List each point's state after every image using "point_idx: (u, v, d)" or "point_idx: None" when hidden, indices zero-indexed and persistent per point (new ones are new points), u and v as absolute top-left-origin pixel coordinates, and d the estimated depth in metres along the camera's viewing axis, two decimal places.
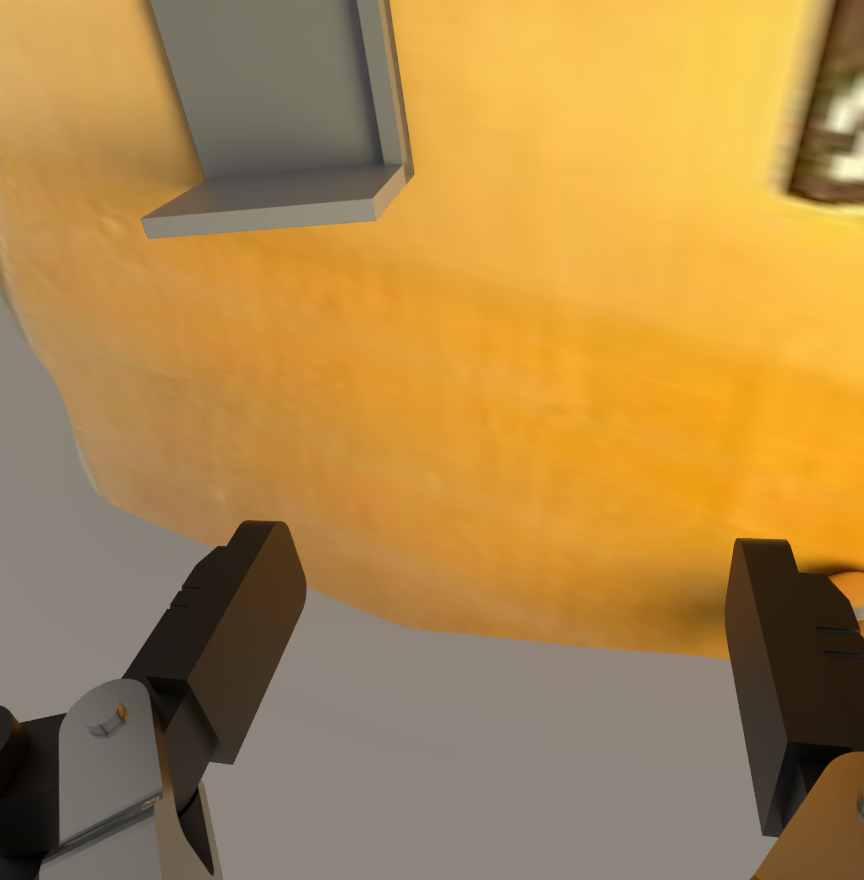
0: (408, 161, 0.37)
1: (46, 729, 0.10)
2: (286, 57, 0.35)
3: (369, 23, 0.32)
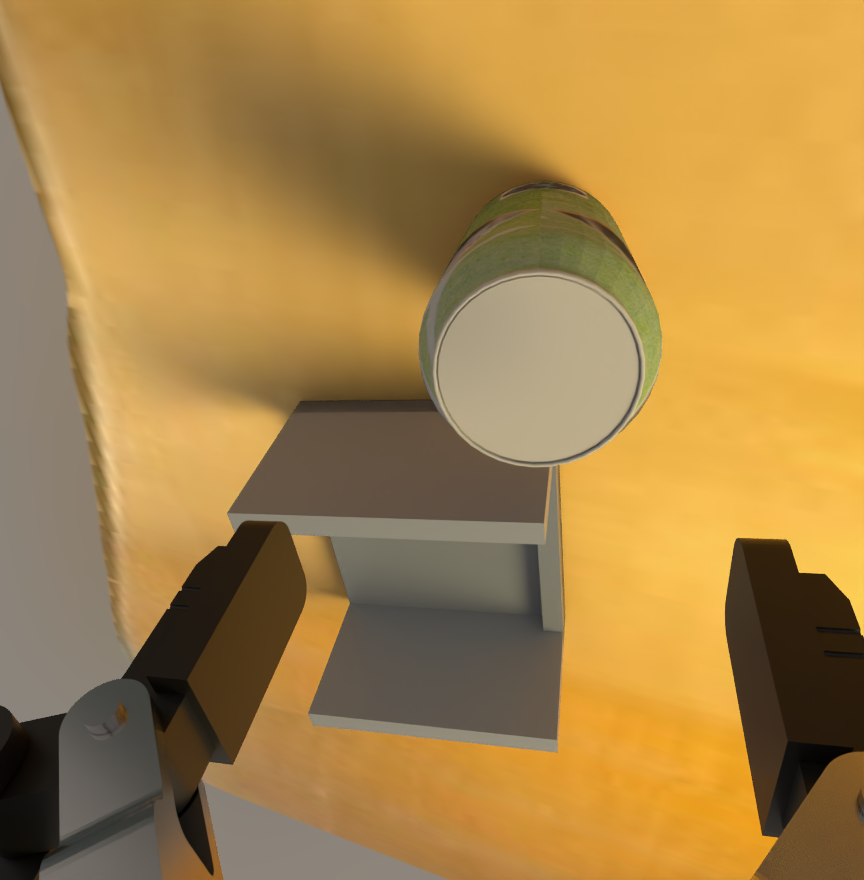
0: (564, 615, 0.36)
1: (45, 729, 0.10)
2: None
3: (546, 541, 0.32)
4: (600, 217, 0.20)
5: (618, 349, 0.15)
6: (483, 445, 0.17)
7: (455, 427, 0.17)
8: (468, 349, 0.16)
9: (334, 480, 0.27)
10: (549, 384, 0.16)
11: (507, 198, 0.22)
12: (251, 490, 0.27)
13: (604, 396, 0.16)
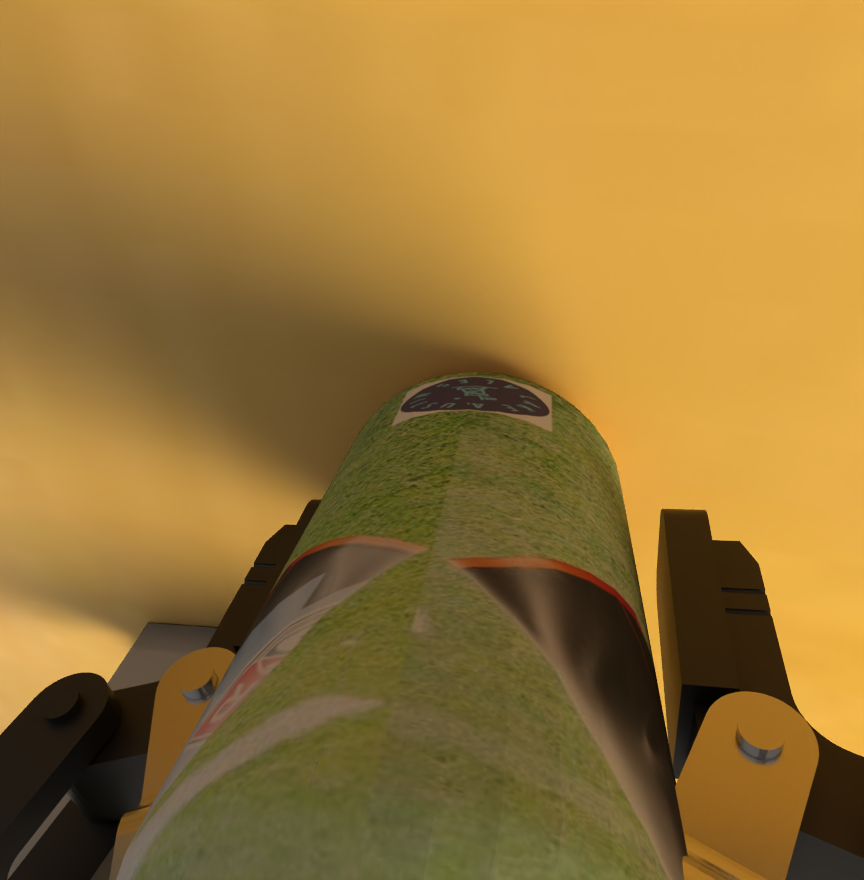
0: None
1: (135, 697, 0.10)
2: None
3: None
4: (569, 517, 0.10)
5: None
6: None
7: None
8: None
9: None
10: None
11: (401, 432, 0.12)
12: None
13: None
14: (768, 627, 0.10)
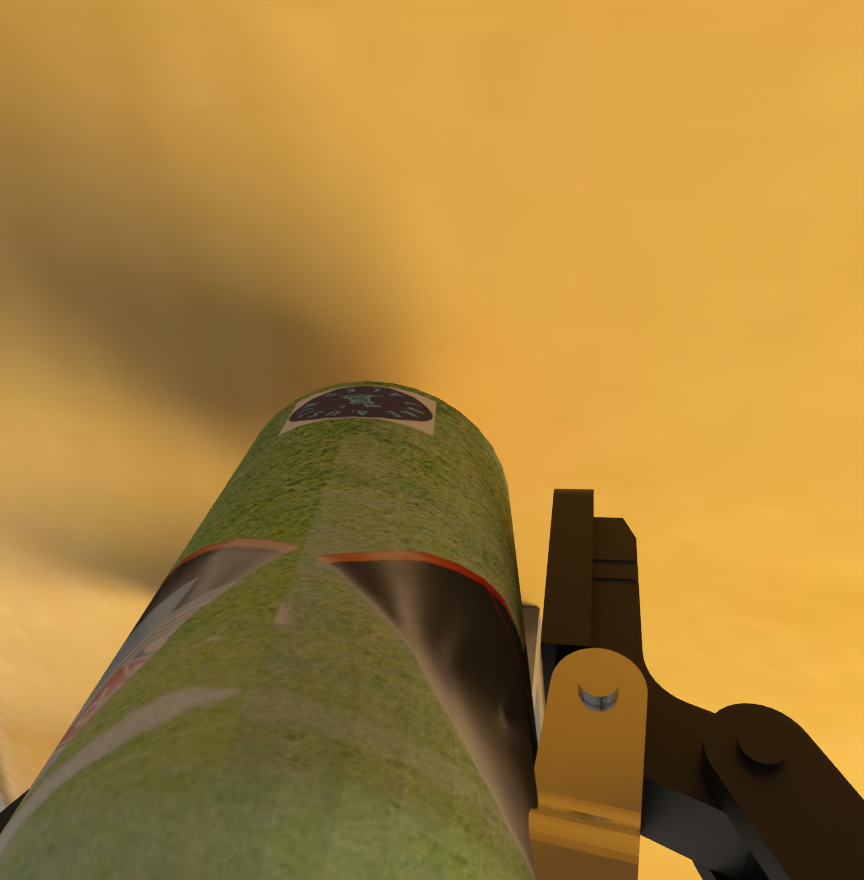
0: None
1: None
2: None
3: None
4: (442, 513, 0.10)
5: None
6: None
7: None
8: None
9: None
10: None
11: (286, 440, 0.12)
12: None
13: None
14: (633, 594, 0.10)
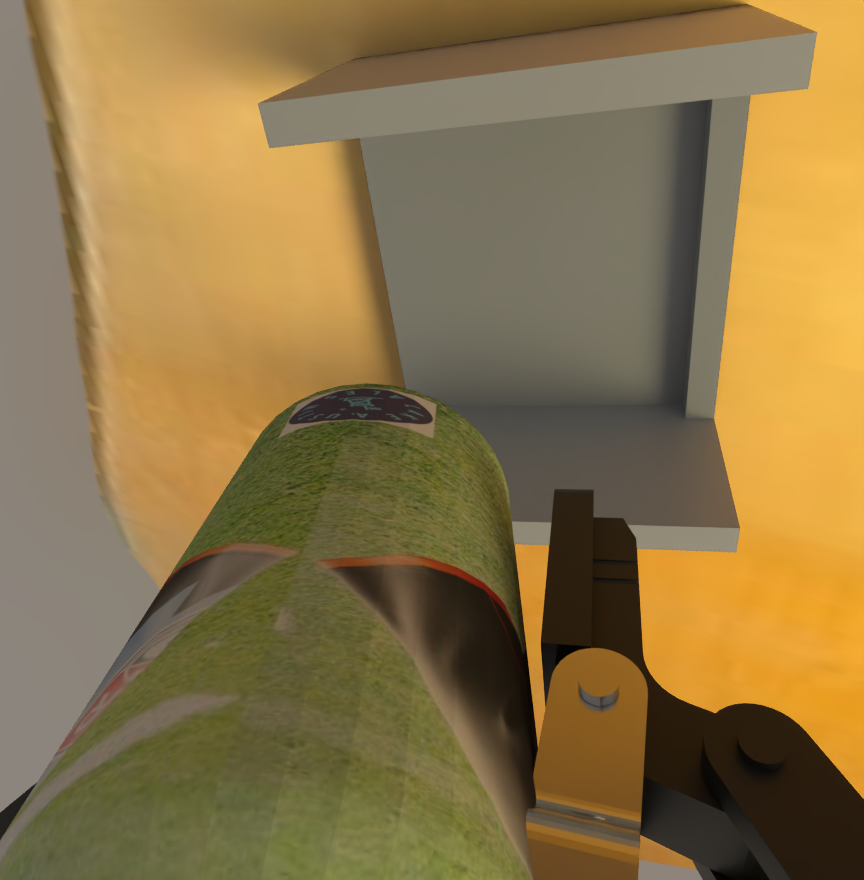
0: None
1: None
2: (560, 277, 0.24)
3: (713, 252, 0.22)
4: (442, 517, 0.10)
5: None
6: None
7: None
8: None
9: (426, 70, 0.17)
10: None
11: (286, 443, 0.12)
12: (294, 91, 0.17)
13: None
14: (633, 594, 0.10)
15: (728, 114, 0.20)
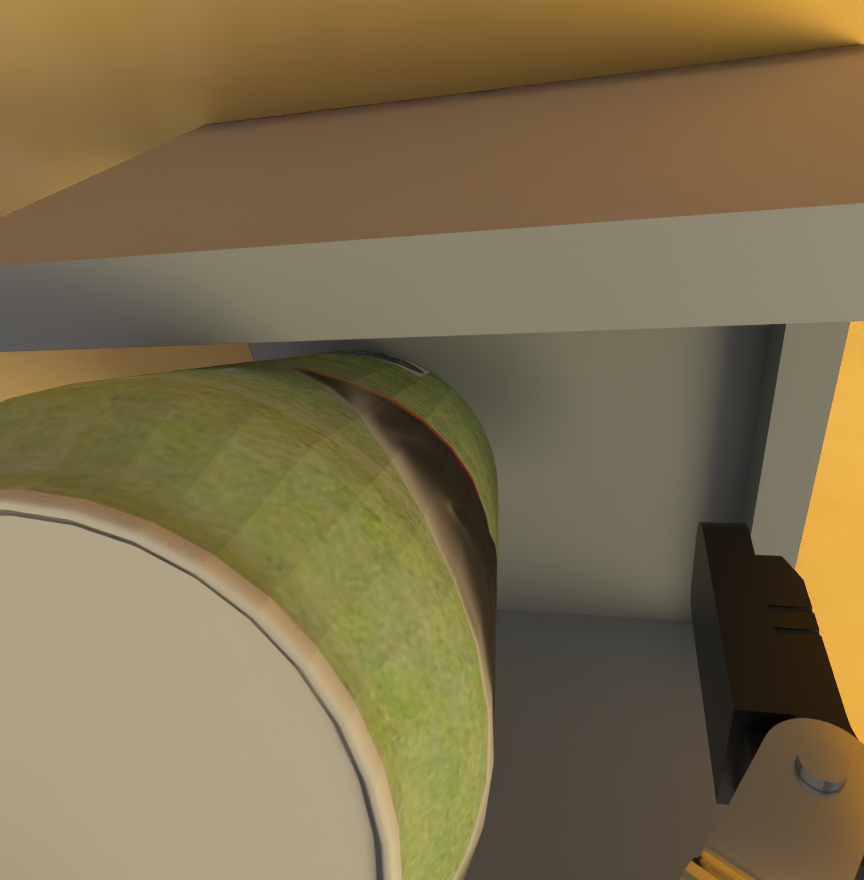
0: None
1: None
2: (541, 454, 0.16)
3: (789, 447, 0.13)
4: (417, 399, 0.10)
5: (300, 796, 0.04)
6: None
7: None
8: None
9: (252, 192, 0.08)
10: None
11: None
12: None
13: None
14: (818, 647, 0.09)
15: None
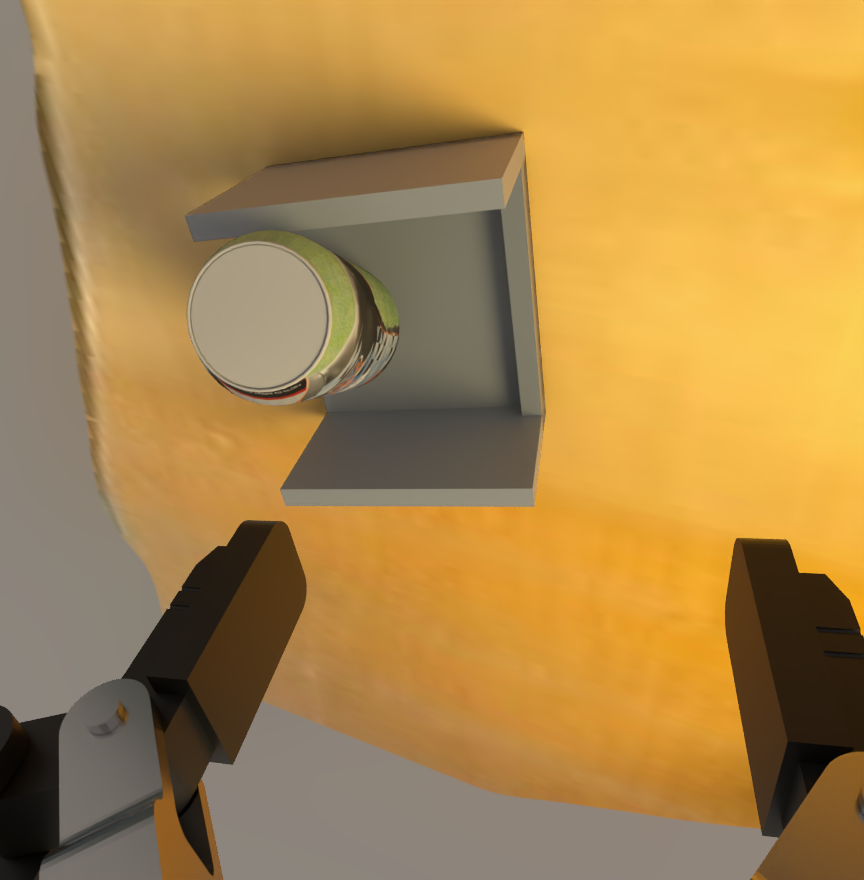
0: (543, 405, 0.36)
1: (46, 728, 0.10)
2: (423, 314, 0.34)
3: (519, 297, 0.31)
4: (352, 263, 0.28)
5: (312, 298, 0.22)
6: (223, 374, 0.23)
7: (202, 358, 0.23)
8: (212, 298, 0.23)
9: (295, 189, 0.26)
10: (268, 324, 0.22)
11: None
12: (211, 204, 0.27)
13: (305, 334, 0.22)
14: None
15: (511, 206, 0.29)
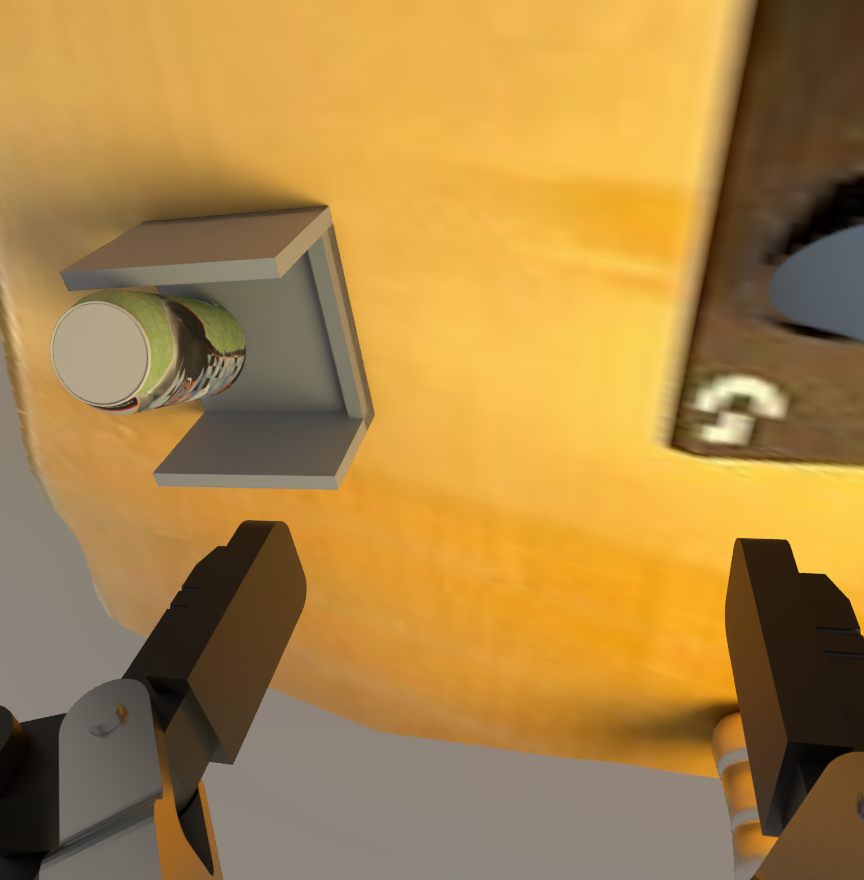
0: (369, 410, 0.45)
1: (46, 728, 0.10)
2: (269, 338, 0.43)
3: (333, 329, 0.41)
4: (193, 306, 0.37)
5: (136, 342, 0.32)
6: (76, 393, 0.32)
7: (61, 382, 0.32)
8: (68, 339, 0.32)
9: (144, 253, 0.36)
10: (106, 359, 0.32)
11: None
12: (82, 261, 0.36)
13: (132, 366, 0.32)
14: None
15: (318, 262, 0.38)
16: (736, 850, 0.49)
